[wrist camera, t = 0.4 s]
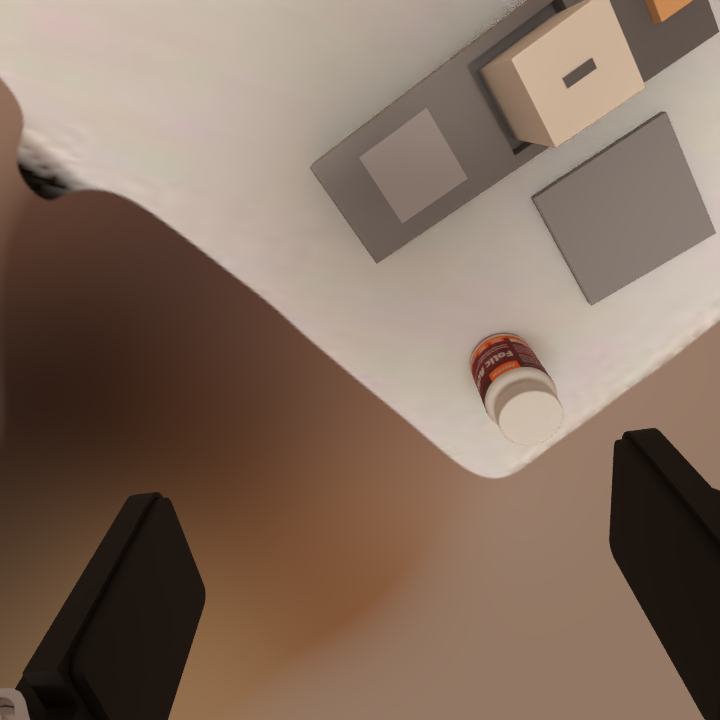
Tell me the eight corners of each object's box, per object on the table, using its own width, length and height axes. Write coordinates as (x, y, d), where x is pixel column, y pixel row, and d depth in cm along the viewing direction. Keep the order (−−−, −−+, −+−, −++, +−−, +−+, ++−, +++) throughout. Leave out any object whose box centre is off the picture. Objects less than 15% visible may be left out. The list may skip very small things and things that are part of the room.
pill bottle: (492, 321, 39) (523, 372, 32) (544, 350, 40) (586, 406, 33) (456, 371, 41) (477, 431, 34) (506, 398, 42) (538, 462, 35)
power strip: (821, -223, 27) (901, -281, 23) (856, -80, 29) (934, -109, 25) (314, 161, 35) (308, 169, 31) (375, 249, 37) (376, 266, 33)
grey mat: (661, 111, 33) (666, 111, 33) (710, 231, 36) (715, 233, 36) (531, 197, 36) (533, 198, 35) (588, 302, 39) (591, 305, 38)
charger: (545, 18, 30) (606, -11, 22) (579, 91, 31) (646, 87, 24) (476, 70, 31) (511, 58, 23) (512, 138, 32) (556, 147, 25)
